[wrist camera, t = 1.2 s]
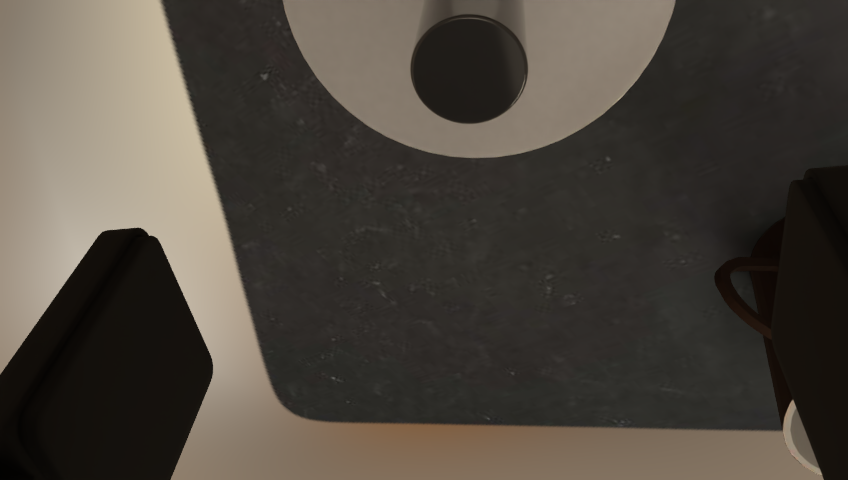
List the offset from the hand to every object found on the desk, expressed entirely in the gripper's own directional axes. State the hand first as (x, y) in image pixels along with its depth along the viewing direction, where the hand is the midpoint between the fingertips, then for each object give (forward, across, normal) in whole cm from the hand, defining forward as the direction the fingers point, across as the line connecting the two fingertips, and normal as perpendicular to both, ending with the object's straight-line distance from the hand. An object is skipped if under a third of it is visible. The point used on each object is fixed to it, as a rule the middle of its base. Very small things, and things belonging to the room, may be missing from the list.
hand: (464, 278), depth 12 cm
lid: (+13, 0, 0) cm, 13 cm away
